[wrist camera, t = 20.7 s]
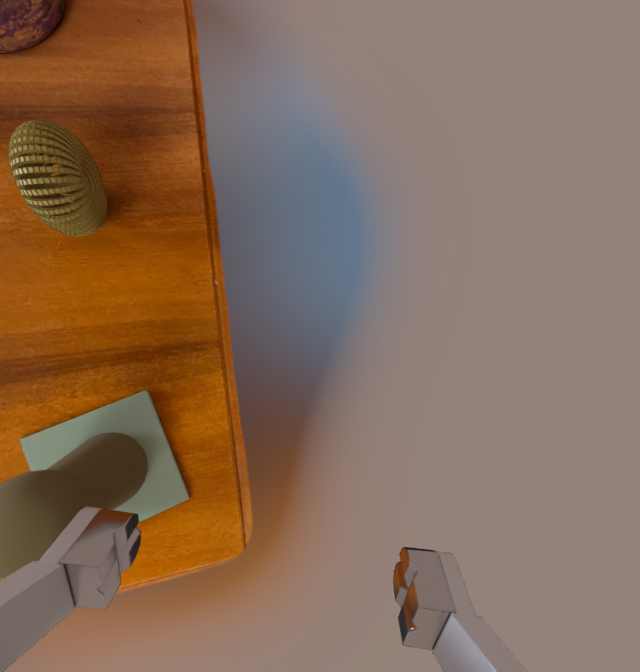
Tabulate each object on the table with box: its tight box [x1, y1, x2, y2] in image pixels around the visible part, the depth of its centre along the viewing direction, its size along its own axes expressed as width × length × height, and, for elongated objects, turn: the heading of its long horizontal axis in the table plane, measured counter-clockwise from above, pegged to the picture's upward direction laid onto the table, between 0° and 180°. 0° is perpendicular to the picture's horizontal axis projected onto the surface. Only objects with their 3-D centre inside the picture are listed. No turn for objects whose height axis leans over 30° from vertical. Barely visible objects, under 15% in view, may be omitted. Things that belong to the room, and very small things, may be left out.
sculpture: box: [8, 120, 107, 236], centre depth 25 cm, size 8×4×8 cm, turn 11°
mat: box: [19, 390, 190, 522], centre depth 27 cm, size 10×10×1 cm
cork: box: [0, 432, 148, 578], centre depth 21 cm, size 6×6×11 cm
